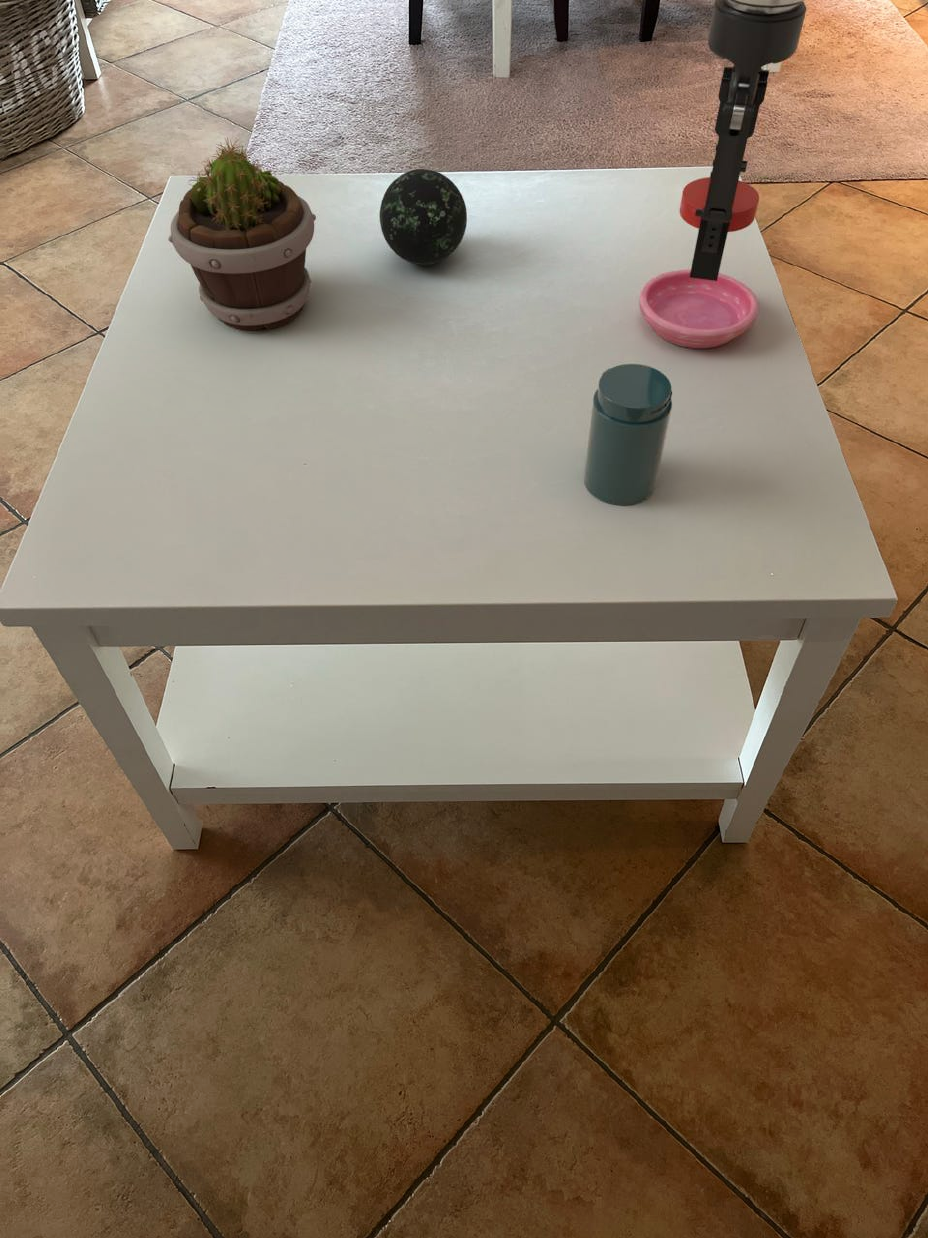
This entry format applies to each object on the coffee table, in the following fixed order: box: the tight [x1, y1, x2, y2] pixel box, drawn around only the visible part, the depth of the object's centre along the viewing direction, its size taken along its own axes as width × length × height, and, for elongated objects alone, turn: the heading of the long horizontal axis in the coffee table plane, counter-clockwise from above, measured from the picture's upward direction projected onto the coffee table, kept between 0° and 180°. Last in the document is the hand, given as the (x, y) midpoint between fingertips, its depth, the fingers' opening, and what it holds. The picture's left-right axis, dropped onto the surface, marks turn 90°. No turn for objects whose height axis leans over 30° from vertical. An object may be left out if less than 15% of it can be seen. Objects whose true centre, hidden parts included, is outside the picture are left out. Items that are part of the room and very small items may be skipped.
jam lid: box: [679, 176, 760, 233], centre depth 89 cm, size 7×7×2 cm
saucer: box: [638, 269, 759, 349], centre depth 98 cm, size 12×12×3 cm
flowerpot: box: [168, 137, 317, 331], centre depth 95 cm, size 14×15×20 cm
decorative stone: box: [379, 168, 468, 266], centre depth 105 cm, size 10×10×10 cm
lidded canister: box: [583, 363, 673, 506], centre depth 80 cm, size 7×7×11 cm
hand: (707, 256), depth 93 cm, fingers closed on jam lid, 7 cm apart
